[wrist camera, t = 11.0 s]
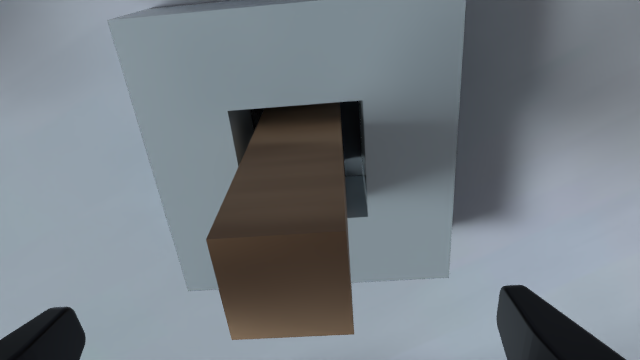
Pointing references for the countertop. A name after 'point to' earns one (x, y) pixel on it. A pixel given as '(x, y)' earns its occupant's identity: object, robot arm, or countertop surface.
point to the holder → (303, 89)
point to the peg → (286, 230)
